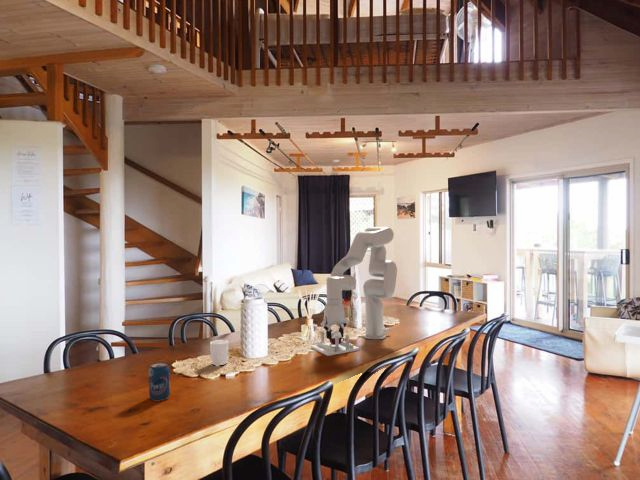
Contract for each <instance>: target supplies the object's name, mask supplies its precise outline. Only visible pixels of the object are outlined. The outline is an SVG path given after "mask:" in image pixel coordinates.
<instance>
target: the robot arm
mask: <svg viewBox="0 0 640 480" xmlns="http://www.w3.org/2000/svg"><path fill="white" fill-rule="evenodd" d="M394 234H395V233H394V230H393V229H392V228H391V227H388V226H373V227H367V228H366V229H364V231H359V232H357V233H356V234H355V236H354V238H353V240H352V243H351V245H350V247H349V249H348V252H347V253H346V255H345V256H344V257H343V258H341V259H340V261H338V262H337V263H336V264H335V265H334V267H333V269H332V271H331V272H330V276H328V277H327V278H326V304H324V305H325V306H324V310H323V311H324V312H323V320H322V322H320V326H321V327H322V328H323V330H324V331H326V332H325V333H326V339H328V340H329V339H331V331H330V329H332V327H333V326H337V325H338V327H339V328H338V331H340V333H341V336H342V338H344V334H345V333H344V332H345V328H346V326H347V324H348V323H349V322H350V320H349V319H348V318H347V317H346V312H345V306H344V304H343V302H344V301H345V298H343V291H352V290H353V289H355V287H356V285H357V279H356V278H355V277H354V276H353V275H350V274H344V273H345V272H346V271H347V270H348V269H350V268H353V267H355V266H357V265H359V264H361V263H362V262H363V260H364V258H365V256H366V253H367V251H368V249H370V257H369V264H368V274H369V275H370V276H372V277H374V278H369V279H367V280H366V281H364V282H363V287H362V289H363V294H364V301H365V302H364V303H365V305H364V306H365V308H364V309H365V312H364V314H365V333H363V334H362V337H363V338H365V339H368V340H383V339H385V338H386V337H387V334H386V333H389V332H391V328H389V327H388V328H385V327H384V305H383V304H384V303H383V301H382V299H390V298H392V297H393V296H394V293H395V291H396V283H397V275H398V268H397V264H396V262H395V261H393V260H389V259H387V249H386V246H385V245H387V244H389V243H391V242H392V241H393V240H394V237H395V236H394ZM376 278H377V279H376ZM378 278H383V279H378Z"/></svg>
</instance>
